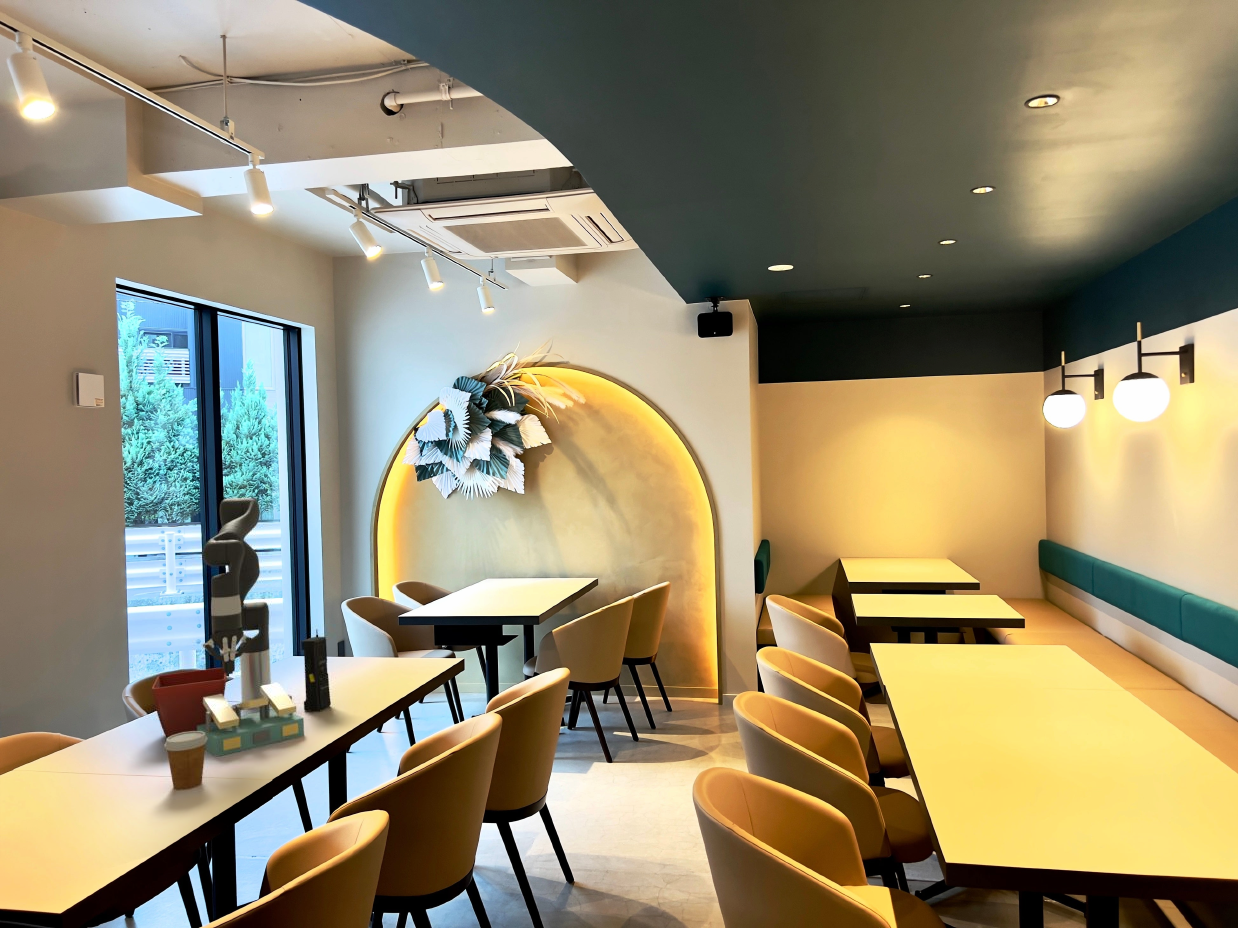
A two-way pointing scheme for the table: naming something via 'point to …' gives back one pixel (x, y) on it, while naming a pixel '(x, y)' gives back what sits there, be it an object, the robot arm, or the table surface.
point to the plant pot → (186, 698)
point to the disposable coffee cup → (186, 758)
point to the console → (251, 730)
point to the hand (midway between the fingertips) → (228, 673)
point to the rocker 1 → (220, 711)
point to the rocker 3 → (278, 699)
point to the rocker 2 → (252, 703)
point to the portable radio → (316, 674)
